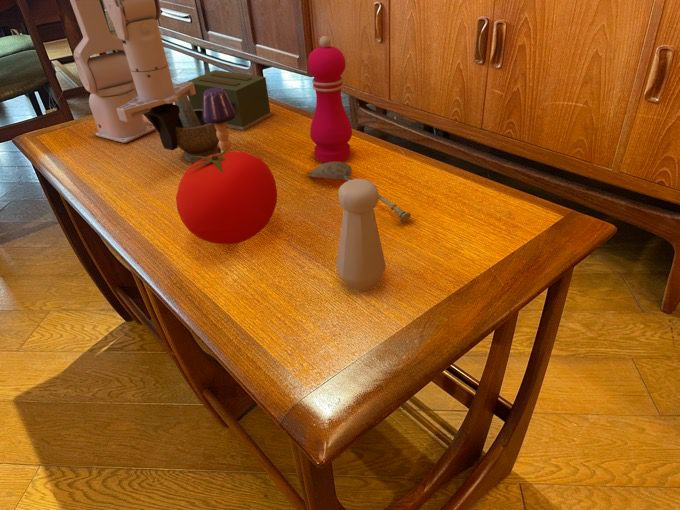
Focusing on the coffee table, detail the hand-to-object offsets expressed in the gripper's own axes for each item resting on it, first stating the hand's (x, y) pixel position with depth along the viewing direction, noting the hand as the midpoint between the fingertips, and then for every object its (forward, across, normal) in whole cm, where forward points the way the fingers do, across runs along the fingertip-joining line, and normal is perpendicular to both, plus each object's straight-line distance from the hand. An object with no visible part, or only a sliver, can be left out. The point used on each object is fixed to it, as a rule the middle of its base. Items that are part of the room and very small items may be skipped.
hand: (171, 148), depth 87 cm
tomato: (+4, -11, -24) cm, 27 cm away
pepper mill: (+4, +16, -23) cm, 28 cm away
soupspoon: (+4, +6, -34) cm, 34 cm away
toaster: (+3, +23, +7) cm, 24 cm away
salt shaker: (+4, -12, -45) cm, 47 cm away
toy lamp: (+4, -3, -17) cm, 18 cm away
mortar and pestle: (+4, +6, 0) cm, 7 cm away
